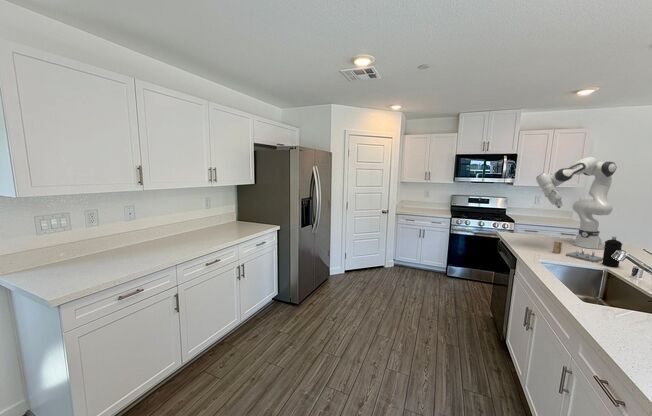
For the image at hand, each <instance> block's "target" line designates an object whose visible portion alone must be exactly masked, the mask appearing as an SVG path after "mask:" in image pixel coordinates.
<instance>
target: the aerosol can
mask: <svg viewBox="0 0 652 416" xmlns="http://www.w3.org/2000/svg"><path fill="white" fill-rule="evenodd" d="M604 246H605V247H604V248H603V255H602V256H603V257H602V258H603V261H601V265H602V264H603V265H602V266H605V267H609V268H620V261H617V260H615V259H613V258H612V257H611V255H612V254H613V253H614V252H615V251H616V250H621V251H622V246H623V243H622V242H621V241H619V240H617V236H611V239H607V240H605V241H604Z"/></svg>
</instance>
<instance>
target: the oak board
mask: <svg viewBox="0 0 652 416" xmlns="http://www.w3.org/2000/svg"><path fill="white" fill-rule="evenodd" d="M562 244H563V241H561V240H560V241H559V240H556V241H553V244H552V245H553V247H552V254H556V255H558V254H559V255H560V254H561V253H562V247H563V246H562Z"/></svg>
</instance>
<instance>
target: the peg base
mask: <svg viewBox="0 0 652 416" xmlns="http://www.w3.org/2000/svg"><path fill="white" fill-rule="evenodd" d="M595 253H596V252H595V251H591V254H590V252H586V253H585V249H583V248H582V249H581V252H580V251H579V250H576V251H573V252H569V253H566V254H565V257H568V256H569V257H568V258H573V259H578V260H582V261H587V262H590V261H591V263H594V262H596V263H599V261H600V262H603V261H602V260H603V257H602V256H597V255H595Z"/></svg>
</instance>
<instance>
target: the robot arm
mask: <svg viewBox="0 0 652 416" xmlns="http://www.w3.org/2000/svg"><path fill="white" fill-rule="evenodd" d="M617 168H618V167H617V165H616V162H614V161H598V160H597V158H596V157H593V156H587V157H585V158H581V159H578V160H577V161H576V162H574V163H571V165H570V167H566V168H564V167H563V168H560V169H558V170H557V171H556V172H554V173H553V174H551V173H550V174H549V173H546V172H543V173H541V174H540V175H538V176H536V179H535V180H536V183H537V185H539V187H540V188H541V190H542V192H543V194H544V196H545V197H546V198H547V199H548V201H549V202H550V203H551V205H555V206H556V207H557V209H561V207H562V206H564V203H563V202H562V199H563V196H562V195H561V194H560V193H559V189H558V188H557V187H558V186H560V185H563V184H564V183H565V182H567V181H569V180H571V179H573V177H574V175H577V176H578V175H582V174H583V175H584V176H590V177H591V176H593V177H594V178H593V181H592V183H591V185H590V188H589V190H588V195H589V196H590V197H592V198H593V200H576V201H575V202H574V203H573V204H572V209H573V211H574V212H575V213H576V214H577V215H578V217H579V221H580V223H579V224H580V225H579V229H578V233H577V234H576V235H575V239H574V242H572V244H573V245H575V246H577V247H579V248H584V249H585V248H586V249H593V250H594V249H595V250H596V249H597V250H602V249H604V247H605V244H602V243H603V242H602V241H603V240H602V239H601V238H600V236H599V235H600V231H599V224H600V223H599V220H597V219H596V218H594V216H609V215H610V214H611V213H612V212H613V205H612V204H611V203H610V202H609V201H608V193H609V190H610V188H611V185H612V182H613V175H614V174H615V172H616V170H617Z"/></svg>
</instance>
